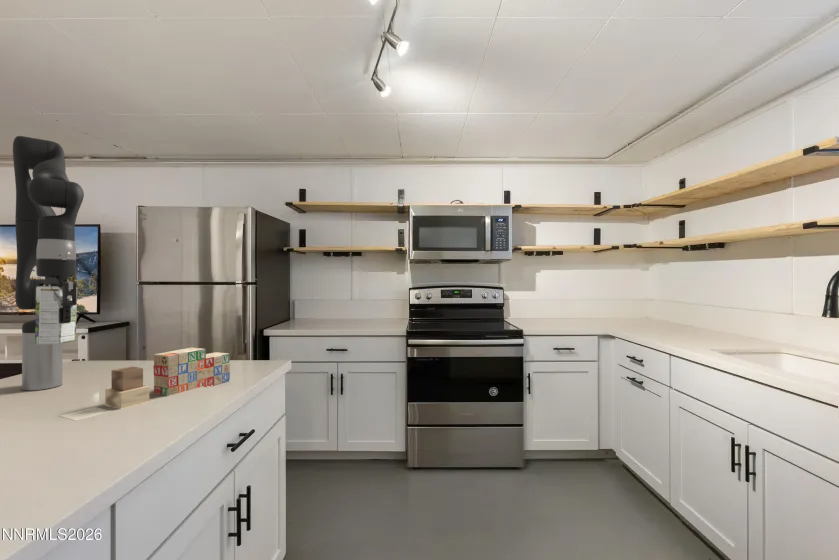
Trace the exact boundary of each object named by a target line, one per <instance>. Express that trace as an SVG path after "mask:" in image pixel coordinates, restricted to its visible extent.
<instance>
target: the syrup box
mask: <svg viewBox="0 0 839 560" xmlns="http://www.w3.org/2000/svg"><path fill="white" fill-rule="evenodd" d="M51 287H52V289H51ZM53 290H54V291H55V292H56V293H57V295H58V296H59V297H60V296H62V290H61V289H60V288H59V287H57V286H39V287H36V309H35V318H34V320H35V344H61V343H63V344H65V343H71V342H76V340H77V309H78V308H77V305H78V303H77V304H76V305H73V307H72V308H71V322H70V323H64V324H61V323H59V309H61V308H59V306H58V303H57V301H54V299H53ZM70 291H71V290H70ZM71 301H72V299H71Z"/></svg>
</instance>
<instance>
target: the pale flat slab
mask: <svg viewBox="0 0 839 560" xmlns="http://www.w3.org/2000/svg"><path fill="white" fill-rule="evenodd" d="M149 402H151V400H149V401H148V402H144V403H141V404H137V405H142V404H145V403H149ZM137 405H133V406H129V407H125V408H122V409H121V408H117V407H112V406H108V405H105V404H104V406H105V407H110V408H114V409H119V410H123V409H126V408H131V407H135V406H137ZM112 412H113V410H109V409H104V408H101V407H96V406H93V407H89V408H86V409H83V410H78V411H74V412H69V413H66V414H61V415H60V417H61V418H65V419H68V420H71V421H75V422H77V421H81V420H85V419H89V418H93V417H97V416H100V415H105V414H108V413H112Z"/></svg>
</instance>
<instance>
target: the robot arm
mask: <svg viewBox="0 0 839 560" xmlns="http://www.w3.org/2000/svg"><path fill="white" fill-rule="evenodd" d="M12 158H13V159H12V161H13V169H14V171H13V172H14V181H15V217H14V218H15V222H14V223H15V225H14V226H15V238H16V239H15V240H16V271H15V272H16V274H15V275H16V276H15V289H14V293H15V294H14V295H15V296H14V297H15V298H14V299H15V304H16V307H17V309H19V310H21V311H22V310H23V311H24V310H27V311H28V310H29V311H30V310H36V287H39V286H57V287H59V288H60V289H61V290H62V296H60V297H59V296H58V295H57V293H56V292H55V291H54V290H53V299H54V301H57V303H58V306H59V308H61V309H59V323H61V324H64V323H70V322H71V308H72V307H73V305H76V304H77V305H78V303H77V302H78V301H77V300H78V299H77V298H78V297H77V296H78V286H77V285H78V284H77V281H70V279H69V278H74V277H76V275H77V248H76V240H75V238H76V236H75V234H76V232H75V231H76V230H75V229H76V221H77V216H78V214H79V210H80V208H81V206H82V204H83V201H84V196H85V192H84V190H83V188H82V186H81V185H80V184H79V183H78V182H75V181H70V180H69V178H68V175H67V172H66V158H65V151H64V149H63V147H62V146H61V144H60V143H57V142H56V141H52V140H46V139H41V138H36V137H29V136H23V135H18V136H16V137H15V138H14V139H13V143H12ZM30 170H31V171H32V173H31V174H30ZM31 175H32V177H31ZM53 208H59V209H64V212H63V213H62V214H56V212H55V211H54V209H53ZM35 266H36V269H35V270H36V276H37V277H39V278H44V279H39V278H38V279H33V278H32V279H31V275H32V272H33V271H34V268H35ZM51 289H52V287H51ZM70 290H71V291H70ZM71 299H72V301H71ZM63 344H64V343H61V344H35V319H32V320H29V321H25V322H24V323H22V325H21V359H22V361H21V389H22V391H41V390H46V389H52V388H57V387H59V386H61V385H63V369H64V368H63V356H64V355H63V353H64V352H63V351H64V350H63V349H64V347H63V346H64V345H63Z"/></svg>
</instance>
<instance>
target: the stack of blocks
mask: <svg viewBox="0 0 839 560" xmlns="http://www.w3.org/2000/svg"><path fill="white" fill-rule="evenodd" d="M206 352H207V351H206V348H199V347H187V348H182V349H181V348H180V349H176V350H171V351H166V352H161V353H154V354H153V363H154V364H153V394H157V395H161V396H167V397H168V396H172V395H176V394H180V393H184V392H188V391H191V390H194V389H195V390H196V389H198V388H202V387H203V388H208V387H207V386H210V387H212V386H211V385H213V386H216V385H215V384H217V385H219V383H221V384H223V383H222V382H224V383H227V382H226V381H228V382H230V381H229V380H230V379H231V378H230V377H231V376H230V375H231V372H230V371H231V370H230V369H231V363H230V353H226V352H217V351H215V352H210V353H206Z"/></svg>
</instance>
